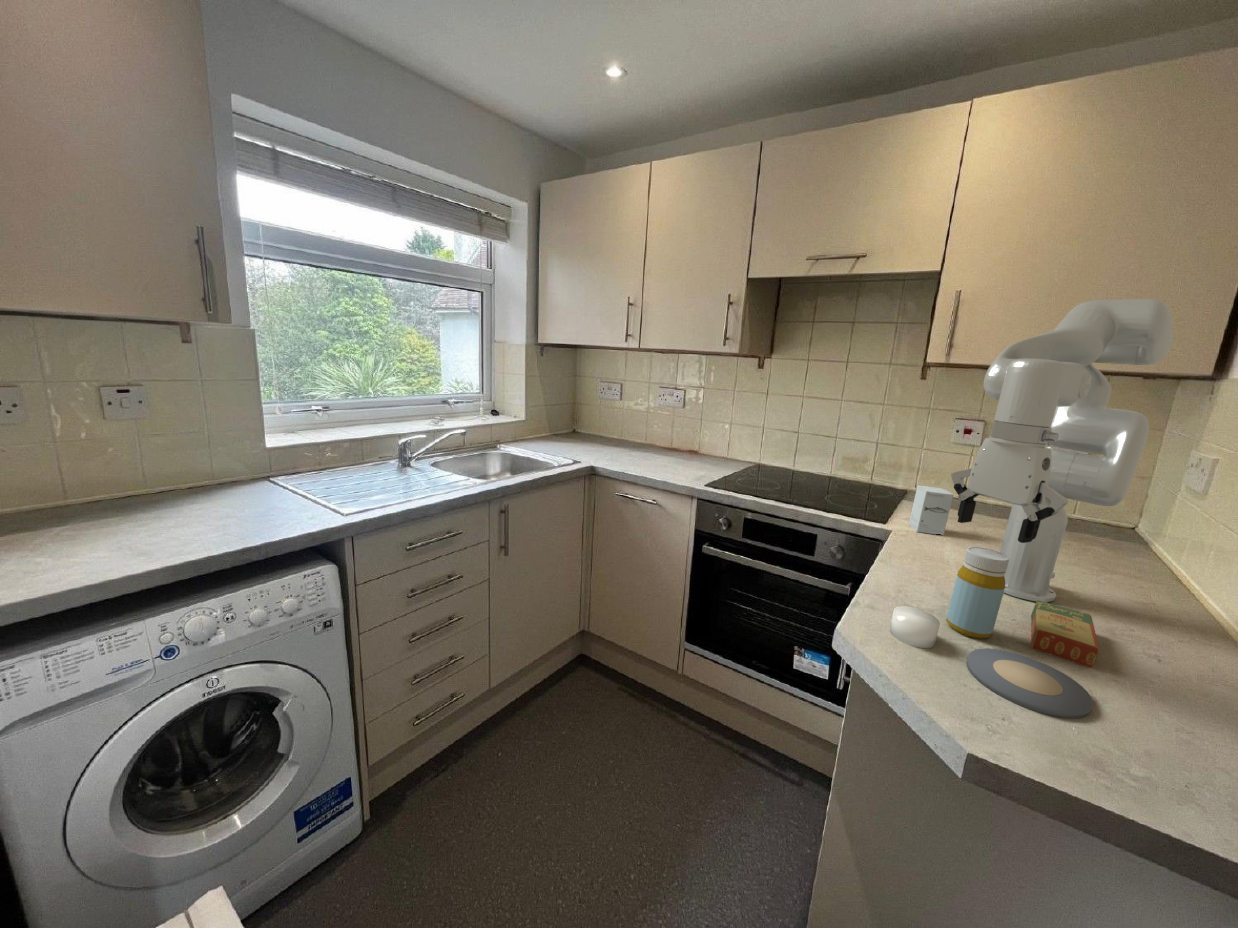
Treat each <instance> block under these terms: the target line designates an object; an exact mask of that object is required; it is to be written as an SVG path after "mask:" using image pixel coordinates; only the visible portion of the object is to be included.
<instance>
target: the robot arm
mask: <svg viewBox="0 0 1238 928" xmlns="http://www.w3.org/2000/svg"><path fill="white" fill-rule="evenodd" d="M1173 323H1174V322H1173V315H1172V312H1171V310H1170V308H1169V306H1168V305H1167V304H1166V303H1165V302H1163V301H1161V300H1159V299H1155V298H1129V299H1128V298H1127V299H1125V298H1122V299H1121V298H1120V299H1119V298H1118V299H1114V298H1113V299H1112V298H1111V299H1094V300H1088V301H1085V302H1081V303H1079V304H1078V305H1075V306H1074V307H1073V308H1071V309H1070V310H1069V311H1068V312H1067V314H1065V316H1064V317H1063V318H1062V320H1061V321H1060V322H1059V323H1058V325H1056V326H1055V328H1054V329H1053V330H1051V331H1047V332H1044V333H1041V334H1038V335H1037V334H1036V335H1035V336H1031V337H1028V338H1024V339H1022V340H1018V341H1017V342H1015V343H1012V344H1009V345H1008V346H1007V347H1006V348H1004V349H1003V350H1002V351H1001V352H1000V353H999V354H998V356H996V358H994V360H993V361H992V363H991V364H990V365H989V367H988V369H987V370H986V372H985V375H984V378H983V390H984V392H985V395H987V397H989V398H990V399H993V400H996V401H998V402H997V407H996V410H995V415H994V418H993V422H992V426H991V430H990V434H989V437H985V438H984V440H983V442H982V444H981V446H980V447H979V450H978V452H977V455H976V456H975V459H974V461H973V465H972V466H971V467H972V468H969V469H968V468H967V469H963V470H959V471H955V472H952V473H951V476H950V477H951V481H952V483H953V489H954V490H955V492H956V494H957V495H958V496H957V497H958V500H959V501H960V503H959V505H958V506H959V508H958V512H957V517H958V518H957V523H960V524H964V523H971V522H972V521H973V516H974V512H975V509H976V505H977V502H976V500H975V499H976V498H977V497H979V496H982V497H986V498H990V499H993V500H998V501H1001V502H1004V503H1008V504H1012V505H1011V508H1010V513H1009V516H1008V520H1007V524H1006V528H1005V532H1004V536H1003V537H1002V538H1003V540H1002V543H1001V547H1000V550H999V552H1000V553H1003V554H1005V555H1006V556H1008V557H1009V563H1008V566H1007V570H1006V573H1005V575H1004V577H1005V583H1006V584H1005V589H1004V593H1003V594H1007V595H1009V596H1012V597H1015V598H1019V599H1023V600H1026V601H1031V602H1032V601H1033V602H1036V601H1037V600H1040V601H1043V602H1047V603H1049V602H1050V603H1051V602H1054V601H1055V599H1056V597H1057V593H1056V592H1055V591H1054V590H1053V589H1052V588H1050V587H1049V585H1050V582H1051V579H1054V578H1055V577H1056V574H1055V572H1054V569H1055V565H1056V563H1057V559H1058V556H1059V552H1060V550H1061V546H1062V542H1063V539H1064V535H1065V531H1066V528H1067V527H1068V521H1069V520H1068V514H1067V512H1066V510H1065V508H1064V507H1065V506H1066V505H1068V504H1069V500H1073V501H1078V502H1082V503H1085V504H1091V505H1095V506H1102V507H1114V506H1117V505H1119V504H1120V503H1121V502H1123V500H1124V499H1125V498H1126V496H1127V494H1128V492H1129V490H1130V487H1131V485H1132V482H1133V479H1134V476H1135V474H1136V471H1137V469H1138V465H1139V463H1140V460H1141V458H1142V455H1143V452H1144V450H1145V446H1146V443H1147V440H1148V438H1149V433H1150V422H1149V420H1148V418H1147V417H1146V415H1144V414H1143V413H1141V412H1138V411H1134V410H1129V409H1122V408H1121V409H1120V408H1113V407H1107V404H1108V403H1109V400H1110V397H1111V395H1112V390H1113V389H1112V386H1111V383H1109V381H1108V379H1107V378H1106V376H1105V375H1104V373H1102V372H1101V371H1100V370H1099V369H1098V368H1097V367H1095V366H1094V365H1093V363H1094V364H1095V363H1096V364H1097V363H1098V364H1112V365H1128V366H1152V365H1155V364H1158V363H1160V362H1161V361H1162V360H1164V359H1165V358H1166V357H1167V355H1168V354H1169V352H1170V351H1171V349H1172V345H1173V341H1174V335H1175V333H1174V325H1173ZM1046 445H1049V446H1052V447H1054V448H1052V447H1049V446H1046ZM1056 448H1057V449H1056ZM1061 449H1062V450H1061ZM1063 449H1064V450H1063ZM1068 450H1070V451H1068ZM1080 452H1082V453H1080ZM1083 452H1084V453H1083ZM1086 453H1088V454H1086ZM1091 454H1095V455H1091ZM1099 455H1101V456H1099ZM965 478H968V481H967V482H968V483H967V485H966V484H965V480H964V479H965Z"/></svg>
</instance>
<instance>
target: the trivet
mask: <svg viewBox="0 0 1238 928" xmlns="http://www.w3.org/2000/svg"><path fill="white" fill-rule="evenodd" d="M966 668H967V669H968V671H969V673H970V675H972V677H974V678H975V679H976V681H978V682H979V683H980V684H981V685H983V686H984V687H986V688H987V689H988V690H990V691H991V692H994V693H995V694H996V695H998V696H999V697H1002V698H1003V699H1005V700H1007V701H1010V702H1011V703H1014V704H1015V705H1019V706H1021V707H1023V708H1025V709H1028V710H1031V711H1034V712H1037V713H1040V714H1043V715H1048V716H1051V717H1056V718H1061V719H1080V718H1085V717H1087V716H1089V714H1090V713H1091V711H1092V709H1093V704H1094V702H1093V698H1092V696H1091V694H1090V693H1089V692H1088V691H1087V690H1086V688H1084V687H1083V686H1082V685H1081V684H1080V683H1078V681H1076V680H1074V678H1072V677H1070V676H1069V675H1067V674H1065V673H1064V672H1062V671H1060V670H1059V669H1057V668H1055V667H1053V666H1050V665H1048V664H1046V663H1044V662H1042V661H1040V660H1037V659H1034V658H1032V657H1028V656H1027V655H1023V654H1020V653H1016V652H1012V651H1009V650H1004V649H998V648H989V647H988V648H987V647H986V648H977V649H974V650H971V651H970V652H969V653H968V655H967V659H966Z"/></svg>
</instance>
